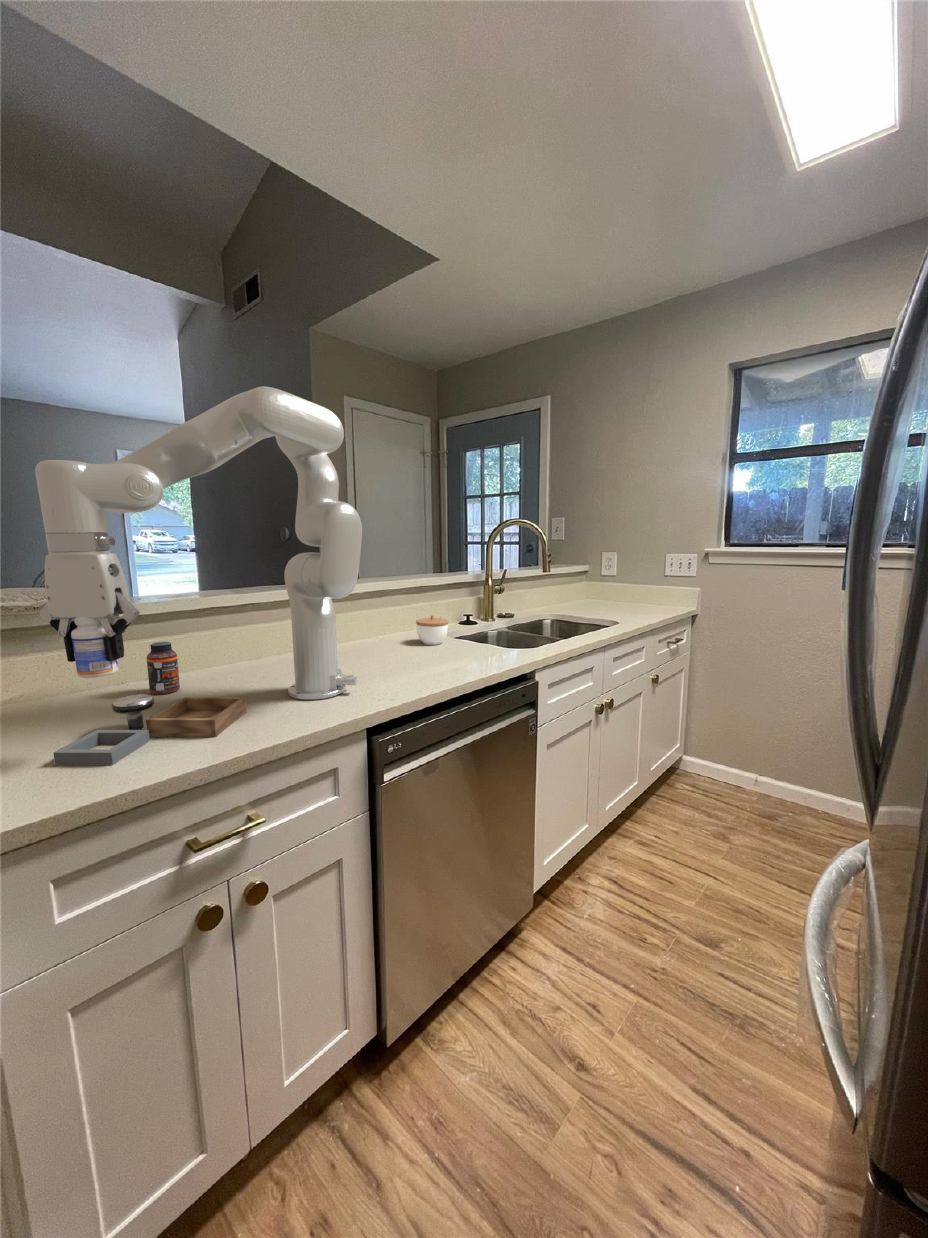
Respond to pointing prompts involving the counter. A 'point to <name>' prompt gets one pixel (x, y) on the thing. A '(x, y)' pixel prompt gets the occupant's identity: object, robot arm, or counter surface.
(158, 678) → the supplement bottle
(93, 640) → the pill bottle
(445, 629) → the lidded jar
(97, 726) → the counter surface
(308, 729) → the counter surface
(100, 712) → the counter surface
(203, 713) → the tray
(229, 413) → the robot arm
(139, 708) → the metal mushroom knob
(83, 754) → the socket collar
